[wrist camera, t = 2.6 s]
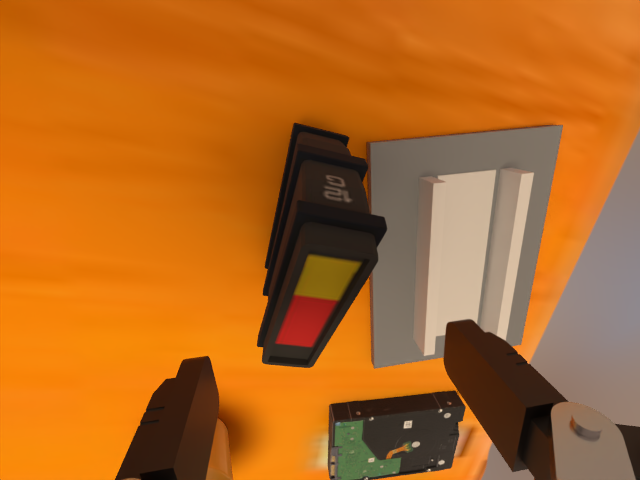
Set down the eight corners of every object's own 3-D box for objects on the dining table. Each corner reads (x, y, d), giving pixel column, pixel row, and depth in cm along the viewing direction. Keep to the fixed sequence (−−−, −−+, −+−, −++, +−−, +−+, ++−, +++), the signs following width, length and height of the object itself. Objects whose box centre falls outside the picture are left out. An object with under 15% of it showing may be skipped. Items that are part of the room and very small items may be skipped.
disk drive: (453, 384, 38) (327, 401, 36) (466, 404, 35) (331, 423, 33) (441, 447, 41) (326, 464, 39) (453, 469, 39) (331, 489, 37)
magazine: (354, 90, 23) (394, 251, 12) (308, 224, 32) (308, 381, 21) (302, 76, 22) (296, 234, 11) (270, 217, 31) (251, 376, 20)
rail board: (366, 142, 26) (380, 146, 22) (553, 125, 27) (591, 126, 24) (371, 361, 34) (382, 387, 30) (514, 338, 35) (538, 361, 32)
